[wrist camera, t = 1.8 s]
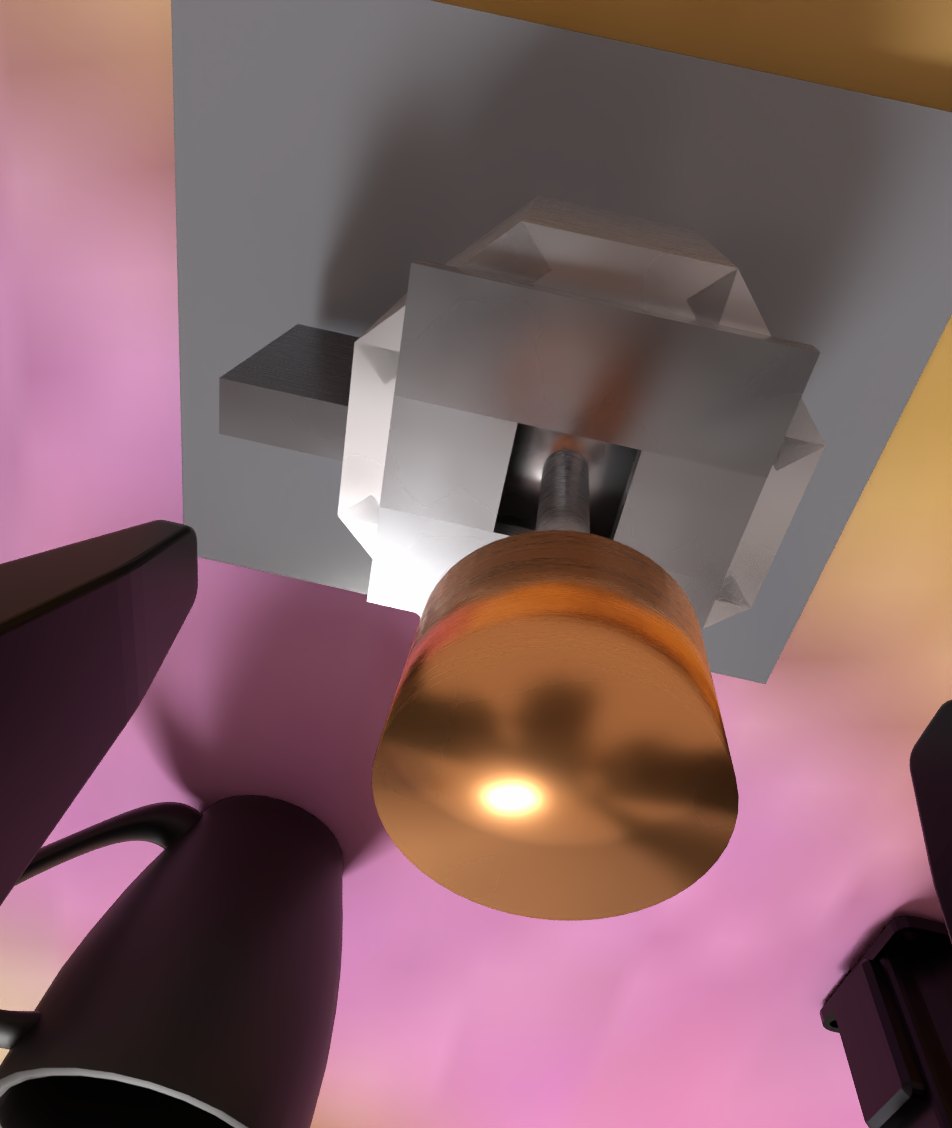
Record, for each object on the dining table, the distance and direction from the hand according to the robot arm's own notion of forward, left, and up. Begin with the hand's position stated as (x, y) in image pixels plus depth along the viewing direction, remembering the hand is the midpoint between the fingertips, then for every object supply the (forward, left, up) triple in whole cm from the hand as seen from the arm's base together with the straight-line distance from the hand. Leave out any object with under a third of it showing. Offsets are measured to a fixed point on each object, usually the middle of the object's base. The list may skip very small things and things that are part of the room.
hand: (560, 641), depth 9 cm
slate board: (+1, 0, -10) cm, 10 cm away
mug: (+8, +18, -10) cm, 22 cm away
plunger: (0, 0, -5) cm, 5 cm away
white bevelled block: (+1, 0, -9) cm, 9 cm away
